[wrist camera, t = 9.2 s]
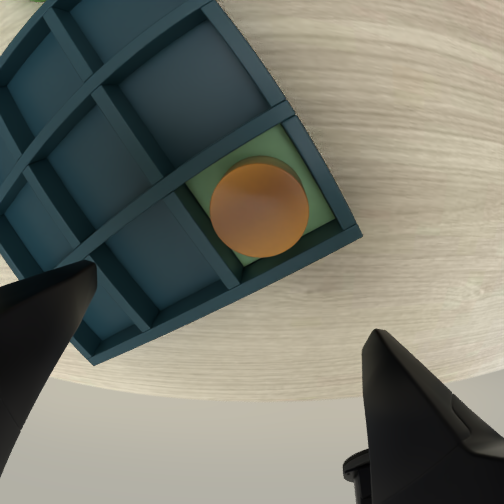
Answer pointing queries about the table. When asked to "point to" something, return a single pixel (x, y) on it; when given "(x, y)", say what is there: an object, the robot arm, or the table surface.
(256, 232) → the cylinder
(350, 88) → the table surface
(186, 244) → the grid
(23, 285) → the robot arm
